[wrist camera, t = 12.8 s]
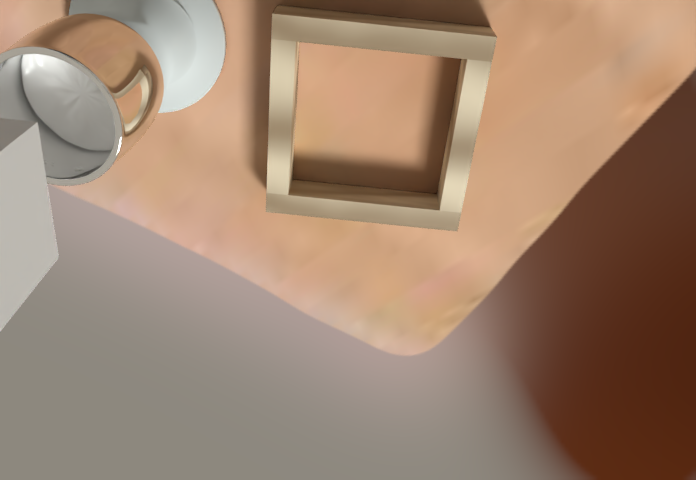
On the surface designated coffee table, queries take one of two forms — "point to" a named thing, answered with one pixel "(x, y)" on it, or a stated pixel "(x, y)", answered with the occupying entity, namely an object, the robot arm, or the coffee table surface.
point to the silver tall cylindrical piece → (96, 82)
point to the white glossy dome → (208, 53)
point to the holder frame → (386, 36)
